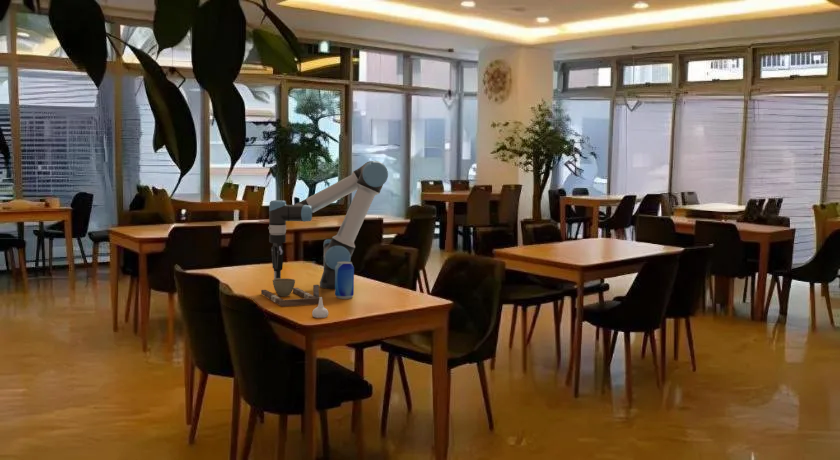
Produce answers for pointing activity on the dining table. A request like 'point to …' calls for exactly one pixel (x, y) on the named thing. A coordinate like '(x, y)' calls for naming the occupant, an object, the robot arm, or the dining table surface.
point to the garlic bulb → (320, 310)
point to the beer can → (344, 280)
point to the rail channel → (294, 302)
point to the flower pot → (283, 286)
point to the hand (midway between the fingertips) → (277, 284)
